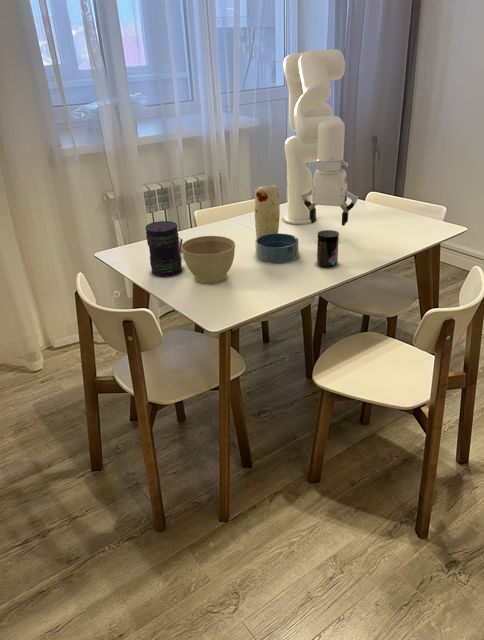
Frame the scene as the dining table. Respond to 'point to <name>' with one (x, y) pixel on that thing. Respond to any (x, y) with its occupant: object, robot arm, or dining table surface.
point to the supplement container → (327, 248)
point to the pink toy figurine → (180, 245)
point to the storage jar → (164, 248)
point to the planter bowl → (209, 257)
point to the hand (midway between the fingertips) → (328, 223)
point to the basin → (277, 247)
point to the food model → (267, 210)
